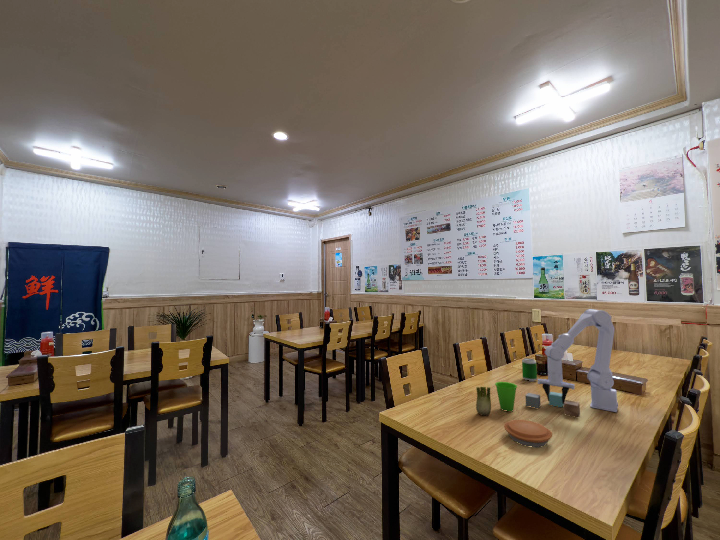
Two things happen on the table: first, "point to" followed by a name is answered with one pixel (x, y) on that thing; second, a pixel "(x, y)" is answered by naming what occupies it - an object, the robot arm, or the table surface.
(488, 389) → the fennel bulb
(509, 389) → the cup
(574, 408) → the walnut block
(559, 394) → the teal block
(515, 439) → the pie
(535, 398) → the charcoal block
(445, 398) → the table surface
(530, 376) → the soda can
